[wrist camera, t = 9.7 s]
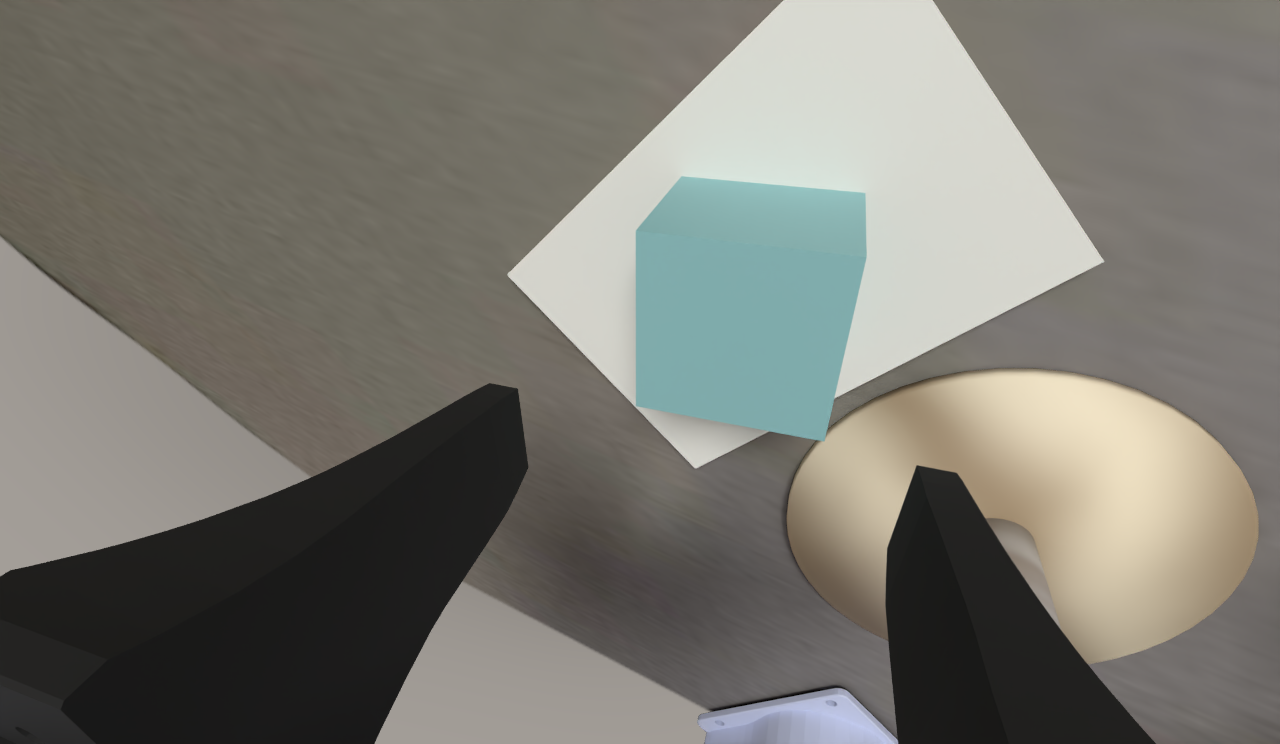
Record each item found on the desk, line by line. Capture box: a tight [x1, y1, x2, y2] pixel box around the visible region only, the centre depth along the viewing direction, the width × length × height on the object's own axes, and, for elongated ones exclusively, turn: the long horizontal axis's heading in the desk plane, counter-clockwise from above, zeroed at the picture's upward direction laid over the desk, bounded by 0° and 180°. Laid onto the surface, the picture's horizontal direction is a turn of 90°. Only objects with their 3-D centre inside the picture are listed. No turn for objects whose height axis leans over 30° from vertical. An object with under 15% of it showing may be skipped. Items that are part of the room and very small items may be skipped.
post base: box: [787, 368, 1258, 664], centre depth 20 cm, size 14×14×4 cm
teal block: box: [636, 176, 867, 441], centre depth 16 cm, size 5×5×4 cm
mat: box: [507, 0, 1104, 469], centre depth 18 cm, size 14×10×1 cm
